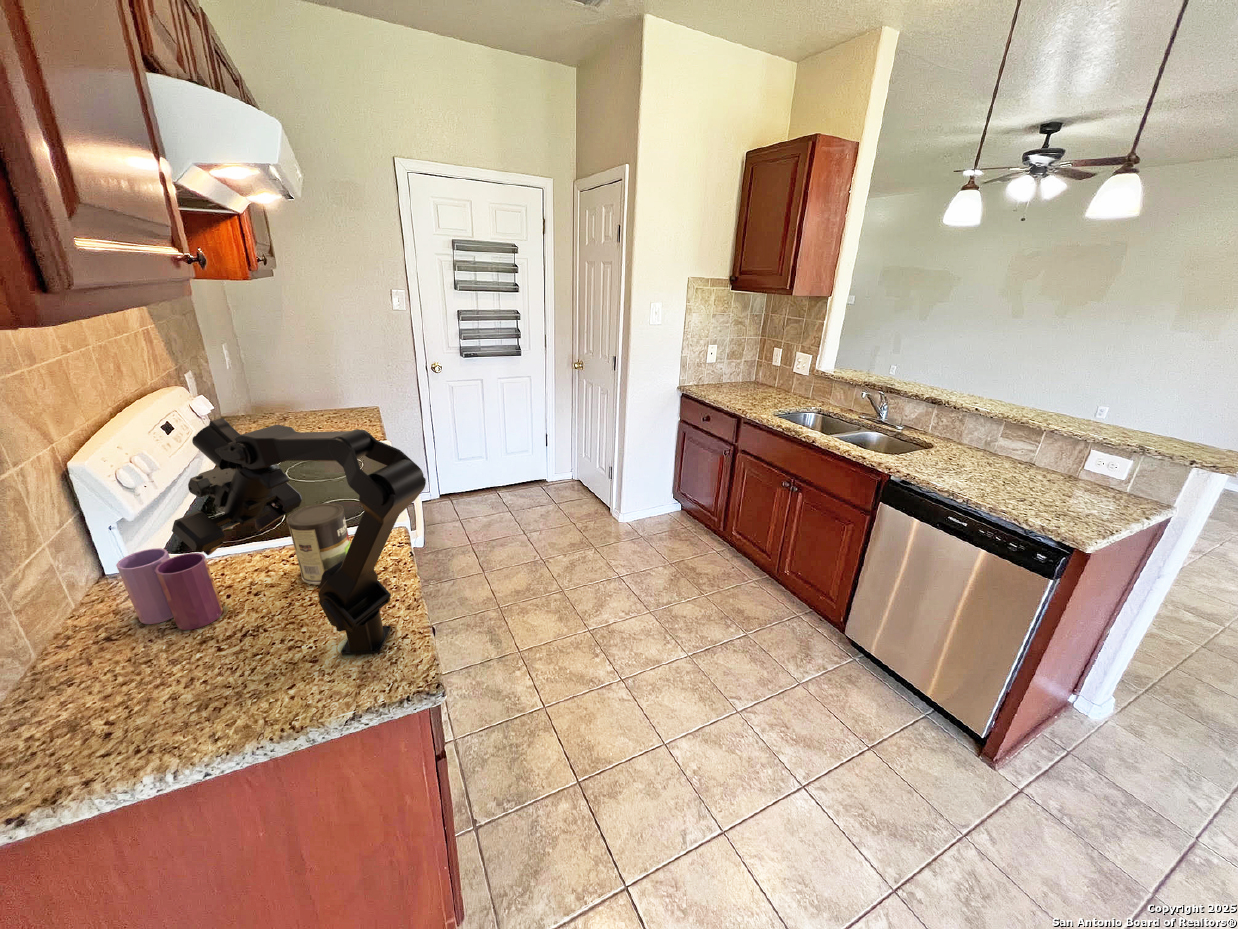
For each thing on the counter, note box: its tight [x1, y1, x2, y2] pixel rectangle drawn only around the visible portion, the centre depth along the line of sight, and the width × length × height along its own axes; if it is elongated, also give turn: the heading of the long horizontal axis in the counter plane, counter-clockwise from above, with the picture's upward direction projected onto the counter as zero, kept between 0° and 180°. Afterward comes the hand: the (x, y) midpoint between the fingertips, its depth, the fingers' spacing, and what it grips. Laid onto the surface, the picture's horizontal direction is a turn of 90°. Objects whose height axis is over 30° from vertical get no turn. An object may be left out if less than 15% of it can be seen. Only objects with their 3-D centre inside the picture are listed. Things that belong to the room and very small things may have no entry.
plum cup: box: [155, 552, 224, 631], centre depth 90 cm, size 7×7×12 cm
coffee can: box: [285, 502, 351, 586], centre depth 104 cm, size 10×10×14 cm
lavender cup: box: [115, 547, 174, 625], centre depth 91 cm, size 7×7×12 cm
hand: (233, 540), depth 90 cm, fingers open, 9 cm apart
